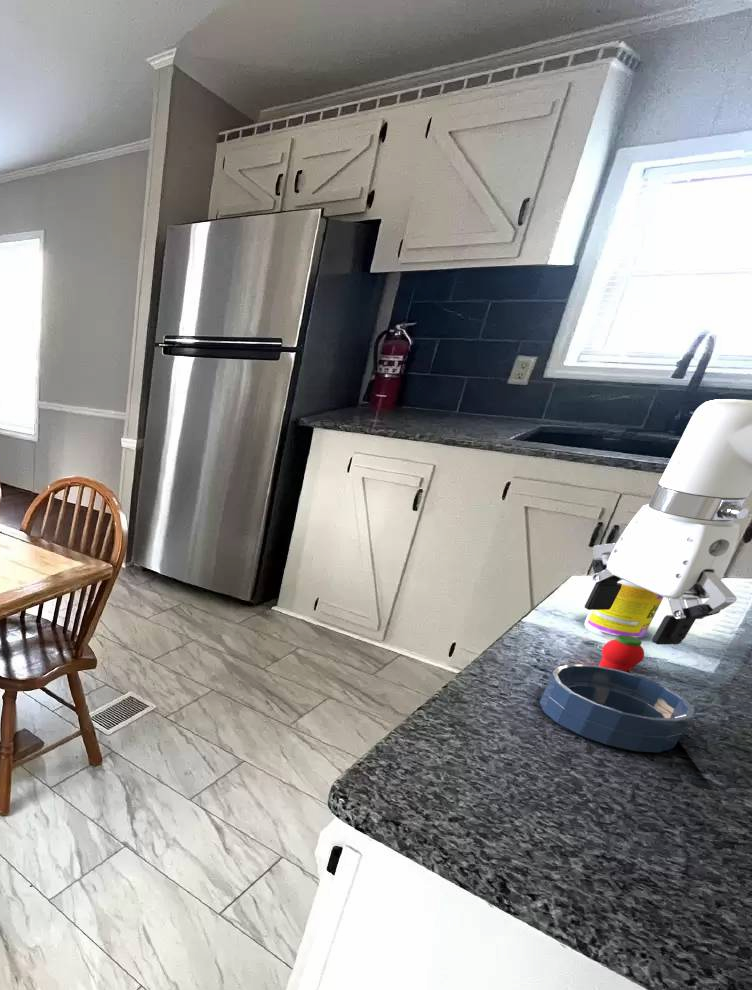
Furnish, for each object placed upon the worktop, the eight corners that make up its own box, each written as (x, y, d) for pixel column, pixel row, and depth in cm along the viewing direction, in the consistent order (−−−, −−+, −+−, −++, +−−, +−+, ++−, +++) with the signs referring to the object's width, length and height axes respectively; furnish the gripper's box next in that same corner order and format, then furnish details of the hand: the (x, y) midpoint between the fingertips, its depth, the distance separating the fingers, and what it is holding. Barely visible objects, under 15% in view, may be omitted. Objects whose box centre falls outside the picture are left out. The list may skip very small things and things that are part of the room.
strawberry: (628, 667, 89) (644, 635, 87) (638, 680, 86) (655, 648, 84) (591, 660, 91) (605, 629, 89) (599, 673, 88) (614, 641, 86)
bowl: (652, 712, 79) (670, 679, 77) (691, 768, 70) (713, 732, 68) (529, 688, 85) (543, 656, 83) (550, 736, 76) (567, 702, 74)
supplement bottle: (643, 647, 94) (683, 567, 88) (582, 634, 98) (618, 556, 92) (640, 631, 98) (679, 554, 93) (583, 619, 102) (617, 544, 97)
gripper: (808, 527, 71) (726, 658, 78) (654, 484, 86) (598, 597, 94) (741, 528, 71) (665, 658, 78) (599, 485, 86) (547, 597, 94)
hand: (629, 625), depth 86 cm, fingers open, 9 cm apart
